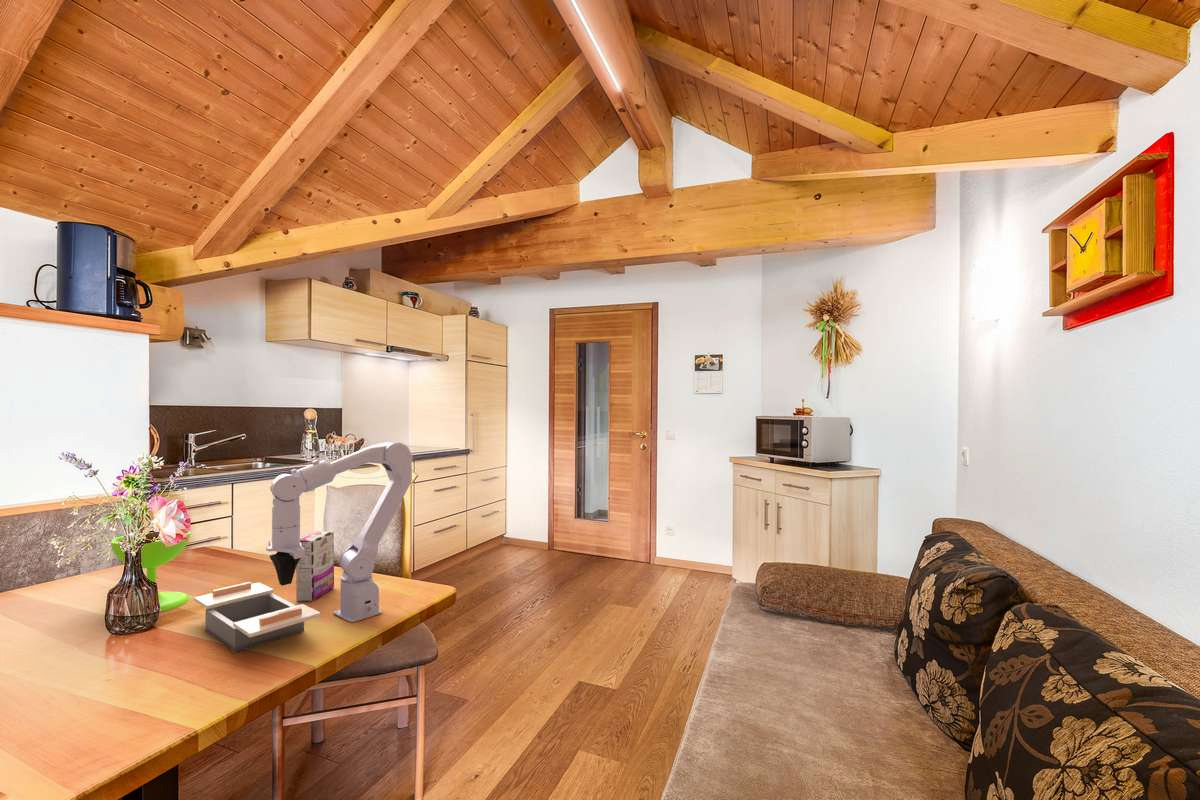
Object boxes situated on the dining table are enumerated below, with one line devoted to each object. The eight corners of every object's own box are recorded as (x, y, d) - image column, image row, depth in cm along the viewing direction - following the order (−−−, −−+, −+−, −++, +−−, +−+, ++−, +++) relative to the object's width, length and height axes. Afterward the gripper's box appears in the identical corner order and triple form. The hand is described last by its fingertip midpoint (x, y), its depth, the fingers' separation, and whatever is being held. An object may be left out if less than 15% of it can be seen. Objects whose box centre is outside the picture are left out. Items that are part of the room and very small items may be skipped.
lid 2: (320, 616, 120) (320, 606, 120) (249, 637, 109) (249, 626, 109) (302, 607, 125) (302, 597, 125) (233, 626, 114) (233, 616, 114)
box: (304, 631, 125) (304, 609, 125) (234, 652, 114) (234, 629, 114) (271, 613, 136) (271, 593, 136) (205, 631, 125) (205, 609, 125)
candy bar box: (317, 587, 155) (317, 530, 155) (334, 588, 154) (335, 530, 155) (294, 601, 143) (294, 540, 144) (313, 602, 143) (313, 540, 144)
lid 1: (273, 592, 135) (273, 583, 135) (206, 609, 124) (207, 599, 124) (258, 585, 141) (258, 577, 141) (194, 600, 129) (194, 591, 129)
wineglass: (94, 619, 131) (95, 545, 131) (132, 597, 147) (132, 531, 147) (171, 613, 135) (172, 541, 136) (200, 592, 151) (200, 527, 151)
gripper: (254, 524, 128) (254, 582, 127) (281, 533, 119) (280, 595, 119) (286, 519, 133) (286, 574, 133) (314, 527, 124) (313, 586, 124)
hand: (285, 584), depth 126 cm, fingers closed
